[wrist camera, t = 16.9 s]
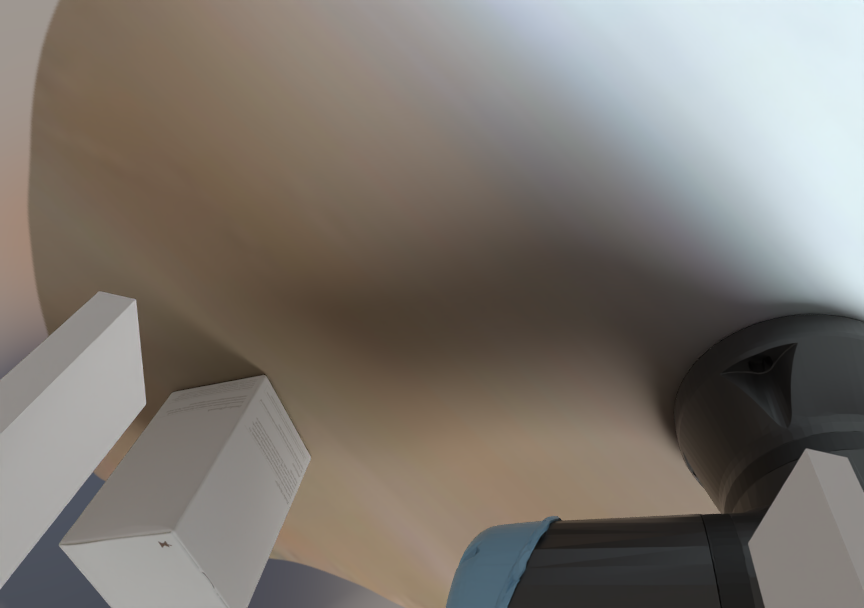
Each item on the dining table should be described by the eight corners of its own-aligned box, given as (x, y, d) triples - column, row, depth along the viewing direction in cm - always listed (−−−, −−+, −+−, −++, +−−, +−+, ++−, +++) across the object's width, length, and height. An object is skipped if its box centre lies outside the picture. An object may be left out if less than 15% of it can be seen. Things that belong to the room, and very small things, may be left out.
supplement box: (168, 389, 55) (50, 543, 43) (267, 371, 52) (172, 529, 40) (220, 473, 59) (126, 635, 47) (315, 460, 57) (242, 629, 44)
